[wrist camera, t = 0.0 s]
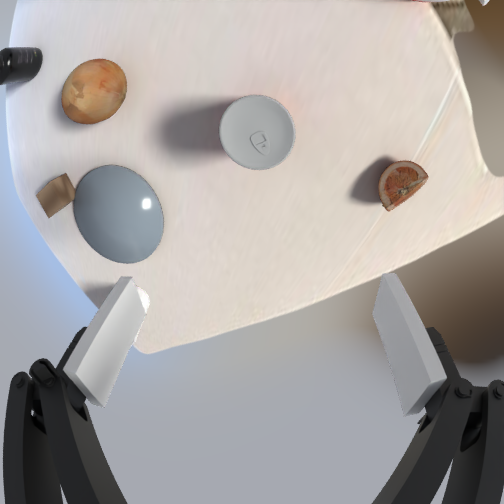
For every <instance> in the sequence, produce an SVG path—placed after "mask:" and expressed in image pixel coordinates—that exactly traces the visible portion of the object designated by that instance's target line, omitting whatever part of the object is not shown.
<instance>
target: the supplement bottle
mask: <svg viewBox="0 0 504 504" xmlns="http://www.w3.org/2000/svg"><path fill="white" fill-rule="evenodd" d="M42 59H43V56H42V52H41V50H40V49H38V48H33V47H11V48H5V49H3V50H1V51H0V85H3V84H9V83H16V82H23V81H29V80H31V79H33V78H34V77H35V76H36V75H37V73H38V72H39V70H40V68H41V65H42Z"/></svg>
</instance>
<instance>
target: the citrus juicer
mask: <svg viewBox="0 0 504 504" xmlns="http://www.w3.org/2000/svg"><path fill="white" fill-rule="evenodd" d="M413 1H419V2H441V1H448V0H413ZM488 1H489V0H480V2H481V3H482V5H485V4H486V3H488Z"/></svg>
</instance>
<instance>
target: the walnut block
mask: <svg viewBox="0 0 504 504" xmlns="http://www.w3.org/2000/svg"><path fill="white" fill-rule="evenodd" d="M75 193H76V190H75V189H74V187H73V185H72V183H71V181H70V179H69V177H68V176H67V174H66V173H65V174H64V175H62V176H60V177H58V178H56V179H54V180H52V181H50V182H49V183H48V184H47V185H46V186H45V187H44V188H43V189H42V190H41V191H40V192H39V193H38V194H37V195H36V196H37V198H38V200H39V202H40V204H41V206H42V207H43V209H44V211H45V213H46V214H47V216H48V218H50V217H51V216H53V215H54V214H55V213H57V212H58V211H60V210H61V209H62V208H64V207H65V206H66V205H68V204H69V203H70V202H71V201H73V200H74V198H75Z"/></svg>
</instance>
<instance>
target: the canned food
mask: <svg viewBox="0 0 504 504" xmlns="http://www.w3.org/2000/svg"><path fill="white" fill-rule="evenodd" d="M295 133H296V131H295V125H294V122H293V119H292V117H291V115H290V114H289V112H288V110H287V109H286V108H285V107H284V106H283V105H282V104H280V103H279V102H278V101H276V100H274V99H272V98H270V97H267V96H263V95H249V96H245V97H242V98H239V99H238V100H236V101H234V102H233V103H232V104H231V105H230V106H229V107H228V108H227V109H226V111H225V112H224V113H223V115H222V118H221V120H220V125H219V137H220V142H221V144H222V147H223V149H224V150H225V152H226V153H227V155H228V156H229V157H230V158H231V159H232V160H233V161H234V162H236V163H237V164H239V165H241V166H243V167H245V168H249V169H252V170H265V169H269V168H272V167H275V166H277V165H279V164H280V163H281V162H283V161H284V160H285V159H286V158H287V157H288V155H289V154H290V152H291V150H292V148H293V146H294V142H295Z"/></svg>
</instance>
